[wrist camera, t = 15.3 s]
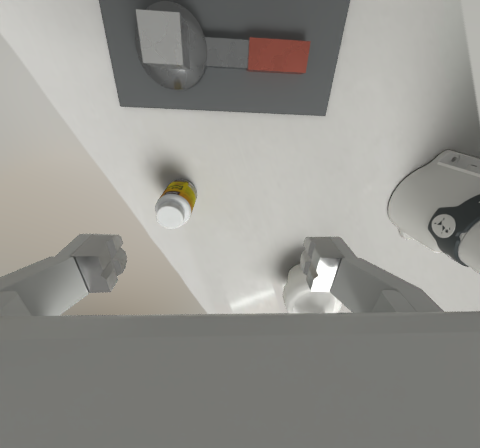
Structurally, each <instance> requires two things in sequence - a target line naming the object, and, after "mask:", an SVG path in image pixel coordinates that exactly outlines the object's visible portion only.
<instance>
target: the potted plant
mask: <svg viewBox="0 0 480 448" xmlns="http://www.w3.org/2000/svg"><path fill="white" fill-rule="evenodd" d="M306 278H307V275H305V274H304V273H303V272H302V269H301V265H300V264H298V265H295V266H293V267H292V268H291V269H290V271H289V274H288V281H287V284H286V285H285V286H284V291H283V300H284V303H285V307H286V311H287V313H337V312H338V311H340V309H341V306H342V303H341V302H340V301H339V300H338V299H337V298H336V297H335V296H333V295H332V294H331V293H330V292H318V291H311V290H310V288H309V286H308V284H307V281H306Z"/></svg>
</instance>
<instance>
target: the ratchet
mask: <svg viewBox="0 0 480 448" xmlns="http://www.w3.org/2000/svg"><path fill="white" fill-rule="evenodd" d="M145 10H153V11H166V12H179V13H180V14H181V16H182V18H183V19H184V21H185V23H186V25H187V26H188V35H189V52H190V70H177V69H160V68H155V67H153V66H150V65H148V64H145V63H143V58H142V51H141V44H140V37H139V30H138V23H137V27H136V32H135V44H136V50H137V54H138V58H139V60H140V62H141V64H142V66H143V68H144V70H145V71H146V73H147V74H148V75H149V76H150V77H151V78H152V79H153V80H154V81H155V82H156V83H158V84H159V85H161V86H163V87H165V88H168V89H173V90H187V89H189V88H192V87H193V86H195V85H196V84H197V83H198V82H199V81H200V80H201V79H202V77H203V76H204V74H205V71H206V68H207V67H209V68H226V69H243V70H247V71H249V72H266V73H283V74H304V73H306V68H307V62H308V55H309V49H310V43H311V41H298V40H283V39H268V38H253V37H250V38H249V40H242V39H227V38H212V37H205V36H204V34H203V31H202V29H201V27H200V25H199V23H198V21H197V20H196V18H195V17H194V16H193V15H192V14H191V13H190V12H189V11H188V10H187V9H186V8H184V7H183V6H181V5H179V4H177V3H174V2H171V1H160V2H156V3H154V4H152V5H150V6H149V7H148V8H147V9H145Z"/></svg>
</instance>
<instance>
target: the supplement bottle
mask: <svg viewBox="0 0 480 448" xmlns="http://www.w3.org/2000/svg"><path fill="white" fill-rule="evenodd" d="M196 198H197V192H196V189H195V187H194V186H193V184H191V183H190V182H189V181H187V180H183V179H178V180H175V181H173V182H171V183H170V184H169V185H168V187H167V188H166V190H165V191H164V192H163V194H162V195H161V197H160V198H159V199H158V201H157V203H156V206H155V211H156V219H157V221H158V223H159V224H160V225H161V226H162V227H164V228H167V229H176V228H178V227H179V226H181V225H183V224H185V223H186V222H187V221H188V220H189V218H190V216H191V213H192V210H193V207H194V204H195V201H196Z"/></svg>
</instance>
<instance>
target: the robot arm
mask: <svg viewBox="0 0 480 448" xmlns="http://www.w3.org/2000/svg"><path fill="white" fill-rule="evenodd" d="M452 158H453V159H452ZM388 214H389V218H390V220H391V222H392V223H393V224H394V225H395V226H397V227H398V228H399V231H400V235H401V237H403V238H404V239H406V240H411V239H414V240H416V241H417V242H419V243H420V244H422V245H423V246H425V247H427V248H428V249H430V250H431V251H433V252H435V253H439V252H440V253H445V254H446V255H447V256H448V257H449V258H451V259H452V260H454V261H456V262H458V263H460V264H461V265H463V266H467V267H470V268H472V269H473V270H474V271H476V272H477V273H479V274H480V159H479V158H476V157H472V156H469V155H465V154H462V153H458V152H455V151H451V150H446V151H444V152H442V153H441V154H440V155H438V156H437V157H436V158H435V159H434V160H433V161H432V162H431V163H429V164H427V165H426V166H424V167H422V168H420V169H418V170H416V171H415V172H413V173H412V174H410V175H409V176H408V177H406V178H405V179H404V180H403V181H402V182H401V183H400V184H399V186H398V187H397V188H396V190H395V191H394V193H393V195H392V197H391V199H390V202H389V206H388ZM122 244H123V241H122V238H121V236H119V235H111V234H109V235H108V234H80V235H78V236H77V237H76V238H75V239H74V240H73V241H72V242H70V243H69V244H68V245H67V246H66V247H65V248H64V249H63V250H62V251H61V252H59V253H58V254H57V255H56V256H55V257H49V258H46V259H44V260H41V261H39V262H36V263H34V264H31V265H29V266H27V267H24V268H22V269H19V270H17V271H15V272H12V273H10V274H7V275H5V276H2V277H0V448H480V311H471V312H444V311H443V310H442V309H441V308H440V307H439V306H438V305H437V304H436V303H435V302H434V301H433V300H432V299H431V298H430V297H429V296H428V295H427V294H426V293H425V292H424V291H423V290H422V289H420V288H418V287H416V286H414V285H412V284H410V283H408V282H406V281H404V280H403V279H401V278H399V277H397V276H395V275H393V274H391V273H389V272H387V271H385V270H383V269H381V268H379V267H377V266H375V265H373V264H371V263H369V262H367V261H366V260H364V259H362V258H357V257H356V255H355V254H354V253H353V252H352V251H351V249H350V248H349V247H348V246H347V244H346V243H345V242H344V241H343V239H342V238H340V237H306V238H305V240H304V244H303V245H304V247H305V250H304V251H303V252H302V253H301V258H300V265H301V269H302V272H303V273H304V274H305V275H307V278H306V281H307V284H308V286H309V288H310V290H311V291H318V292H330V293H331V294H332V295H333V296H335V297H336V298H337V299H338V300H339V301H340V302H341V303H343V304H344V305H345V306H346V307H347V308H348V309H349V310H351V311H352V312H353V313H275V314H186V315H185V314H184V315H183V314H180V315H85V316H83V315H81V316H59V315H61V314H62V313H63V312H65V311H66V310H67V309H69V308H70V307H71V306H73V305H74V304H76V303H77V302H78V301H80V300H81V299H82V298H84V297H85V296H86V295H88V294H89V293H96V292H111V291H112V289H113V287H114V286H115V284H116V283H117V281H118V279H117V276H118V275H119V274H121V273H123V271H124V269H125V267H126V262H127V256H126V253H125V251H124V250H123V249H122V248H121V246H122Z"/></svg>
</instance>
